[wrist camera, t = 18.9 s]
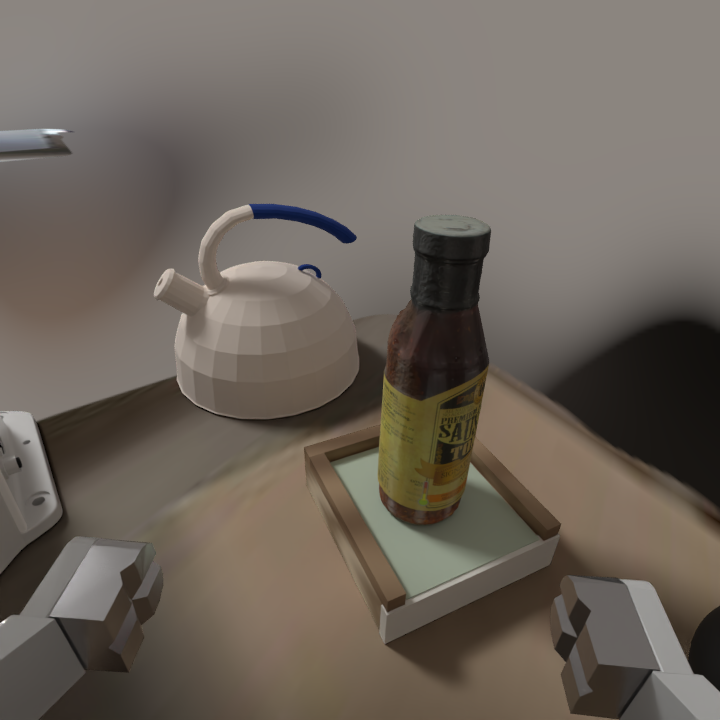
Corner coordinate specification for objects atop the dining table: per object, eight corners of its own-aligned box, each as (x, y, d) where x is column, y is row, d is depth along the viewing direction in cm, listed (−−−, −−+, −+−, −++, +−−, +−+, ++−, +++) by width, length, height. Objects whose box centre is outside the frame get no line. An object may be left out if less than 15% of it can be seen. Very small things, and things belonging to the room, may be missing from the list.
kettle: (167, 338, 61) (133, 187, 52) (327, 311, 68) (324, 173, 58) (183, 444, 46) (138, 254, 36) (390, 395, 52) (399, 224, 42)
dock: (305, 485, 41) (302, 447, 39) (440, 441, 46) (445, 404, 44) (384, 644, 31) (387, 604, 28) (550, 564, 35) (563, 525, 33)
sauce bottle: (440, 545, 33) (485, 257, 22) (360, 504, 36) (365, 231, 25) (477, 483, 37) (529, 220, 27) (403, 451, 40) (424, 201, 29)
